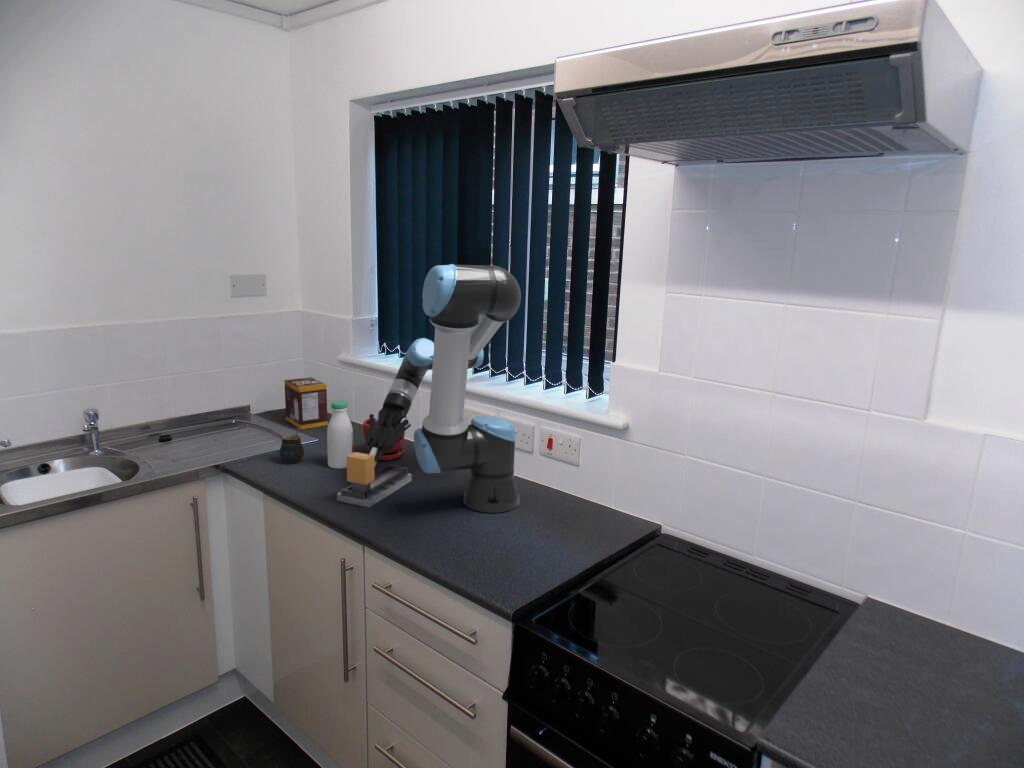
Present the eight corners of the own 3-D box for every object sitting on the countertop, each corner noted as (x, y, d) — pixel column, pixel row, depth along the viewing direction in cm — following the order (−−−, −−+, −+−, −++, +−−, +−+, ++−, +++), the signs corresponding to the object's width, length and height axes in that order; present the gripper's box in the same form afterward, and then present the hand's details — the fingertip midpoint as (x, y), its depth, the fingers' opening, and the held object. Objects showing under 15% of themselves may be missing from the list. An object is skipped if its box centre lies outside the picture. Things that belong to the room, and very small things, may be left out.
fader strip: (382, 474, 199) (382, 463, 198) (413, 480, 195) (413, 468, 194) (335, 501, 178) (335, 488, 178) (368, 508, 175) (368, 495, 174)
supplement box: (311, 415, 258) (310, 376, 255) (328, 425, 247) (327, 384, 243) (285, 419, 252) (283, 379, 249) (300, 429, 240) (299, 387, 237)
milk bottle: (350, 469, 202) (348, 406, 197) (324, 468, 202) (322, 405, 198) (356, 461, 209) (355, 399, 205) (332, 460, 209) (330, 398, 205)
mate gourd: (275, 464, 204) (273, 432, 202) (287, 456, 212) (286, 426, 210) (296, 466, 203) (295, 434, 201) (308, 458, 211) (307, 428, 208)
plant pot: (399, 448, 224) (399, 413, 221) (409, 460, 212) (409, 424, 209) (360, 451, 219) (359, 416, 216) (367, 464, 207) (367, 427, 204)
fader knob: (356, 486, 183) (355, 451, 180) (374, 490, 181) (374, 454, 178) (347, 491, 179) (346, 455, 177) (366, 495, 177) (365, 459, 175)
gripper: (424, 408, 194) (393, 480, 182) (385, 402, 198) (353, 473, 187) (414, 394, 188) (382, 468, 176) (375, 388, 193) (341, 460, 181)
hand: (367, 470), depth 182 cm, fingers closed
